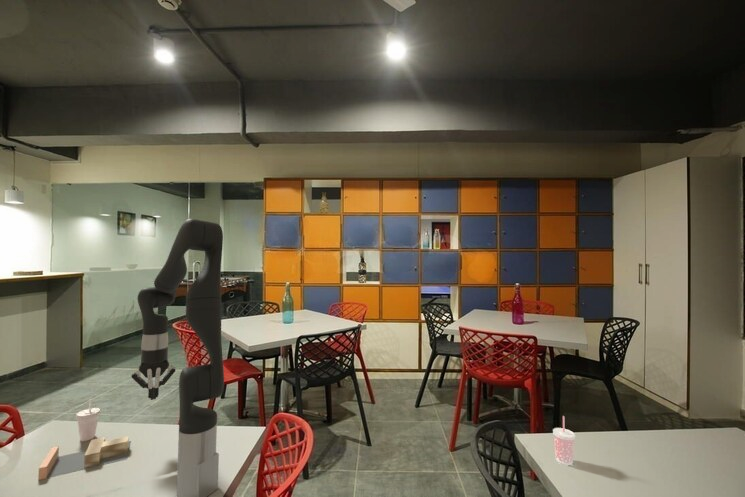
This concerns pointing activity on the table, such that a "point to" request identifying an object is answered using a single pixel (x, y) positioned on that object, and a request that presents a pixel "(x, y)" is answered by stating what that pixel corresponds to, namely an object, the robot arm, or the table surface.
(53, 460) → the rail
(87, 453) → the t block
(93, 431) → the smoothie
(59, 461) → the mat
